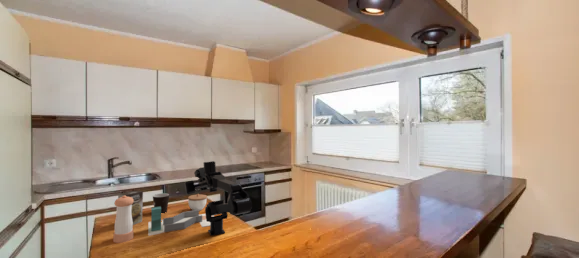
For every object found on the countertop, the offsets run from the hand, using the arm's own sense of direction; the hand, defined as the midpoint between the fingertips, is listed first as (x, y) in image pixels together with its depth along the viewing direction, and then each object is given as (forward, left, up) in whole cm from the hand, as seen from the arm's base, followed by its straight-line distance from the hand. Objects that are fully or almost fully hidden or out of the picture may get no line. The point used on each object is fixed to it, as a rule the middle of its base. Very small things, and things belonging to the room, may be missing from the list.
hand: (198, 185), depth 137 cm
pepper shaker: (-15, +33, -18) cm, 40 cm away
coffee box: (+5, +32, -18) cm, 37 cm away
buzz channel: (-6, +8, -18) cm, 21 cm away
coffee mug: (+17, +18, -18) cm, 30 cm away
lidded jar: (+15, -2, -18) cm, 23 cm away
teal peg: (-9, +20, -17) cm, 28 cm away
